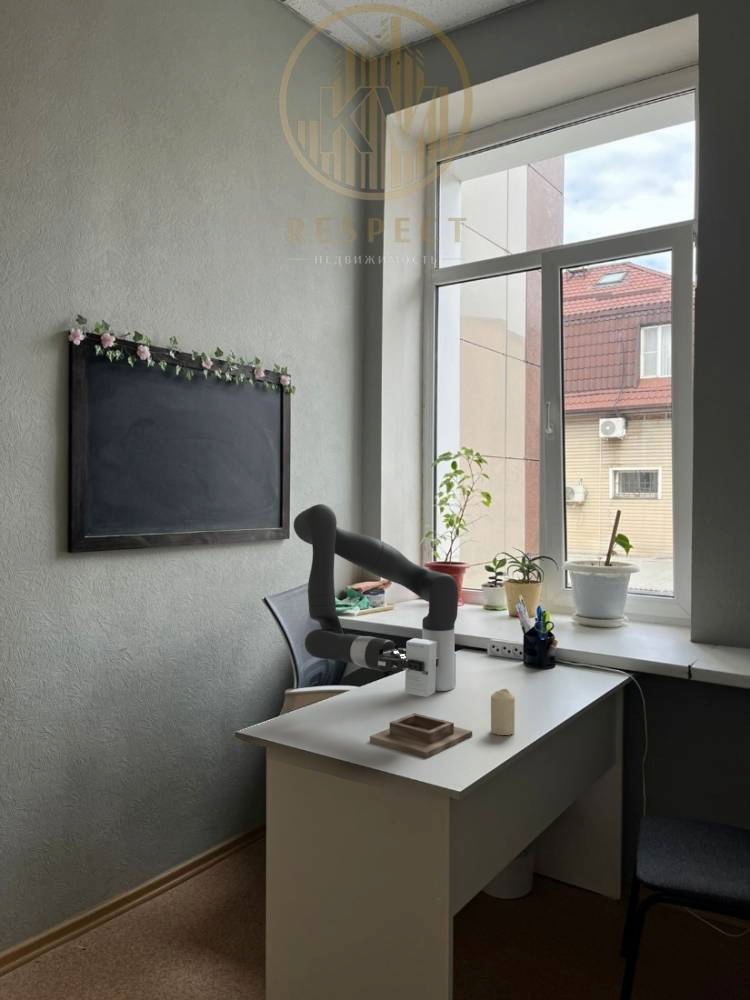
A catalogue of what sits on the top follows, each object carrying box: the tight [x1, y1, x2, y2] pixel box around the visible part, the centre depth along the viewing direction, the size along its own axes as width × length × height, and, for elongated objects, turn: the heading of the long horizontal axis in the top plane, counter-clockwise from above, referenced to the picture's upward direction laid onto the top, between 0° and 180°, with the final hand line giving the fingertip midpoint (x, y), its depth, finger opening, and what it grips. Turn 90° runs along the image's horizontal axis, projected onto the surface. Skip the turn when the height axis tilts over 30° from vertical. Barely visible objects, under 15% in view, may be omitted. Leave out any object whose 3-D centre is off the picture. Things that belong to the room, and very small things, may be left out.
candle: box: [490, 688, 516, 736], centre depth 174 cm, size 6×6×10 cm
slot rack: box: [369, 712, 473, 759], centre depth 169 cm, size 18×16×4 cm
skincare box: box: [404, 637, 437, 698], centre depth 169 cm, size 6×4×12 cm
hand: (430, 664), depth 167 cm, fingers closed on skincare box, 5 cm apart
